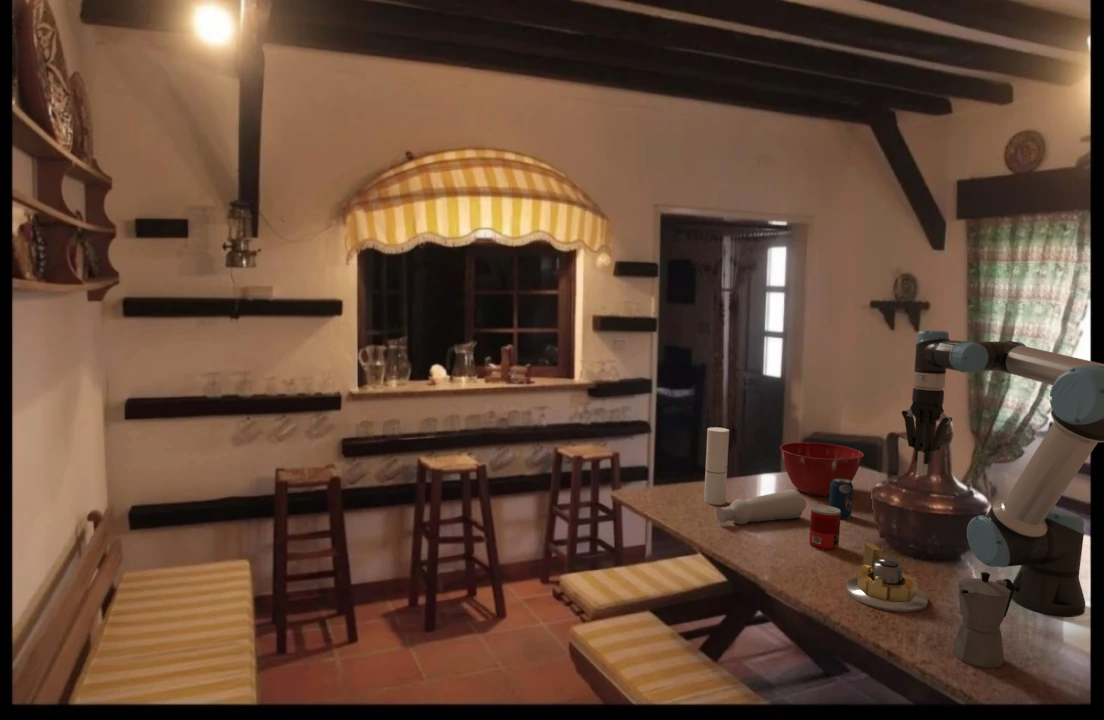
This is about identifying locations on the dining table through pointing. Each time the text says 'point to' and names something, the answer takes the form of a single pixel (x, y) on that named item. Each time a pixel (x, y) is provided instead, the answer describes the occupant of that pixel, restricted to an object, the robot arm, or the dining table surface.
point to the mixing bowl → (819, 465)
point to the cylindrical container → (716, 466)
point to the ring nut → (883, 579)
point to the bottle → (764, 508)
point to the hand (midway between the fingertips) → (921, 474)
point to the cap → (893, 576)
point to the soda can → (841, 496)
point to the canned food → (825, 527)
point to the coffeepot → (982, 620)
